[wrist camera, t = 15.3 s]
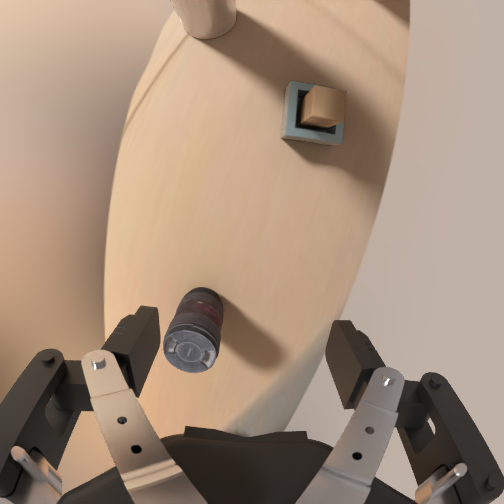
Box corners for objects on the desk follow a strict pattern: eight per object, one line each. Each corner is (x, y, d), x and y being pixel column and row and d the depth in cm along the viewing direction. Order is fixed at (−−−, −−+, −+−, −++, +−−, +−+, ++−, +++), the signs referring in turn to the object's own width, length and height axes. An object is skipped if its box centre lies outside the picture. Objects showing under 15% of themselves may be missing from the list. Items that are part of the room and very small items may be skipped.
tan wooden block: (296, 126, 40) (312, 115, 29) (298, 102, 38) (315, 85, 28) (321, 130, 40) (344, 121, 29) (323, 107, 39) (346, 92, 28)
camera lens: (229, 288, 49) (223, 338, 35) (220, 325, 51) (212, 379, 37) (185, 277, 48) (163, 323, 34) (179, 315, 51) (159, 366, 36)
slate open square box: (280, 138, 41) (285, 134, 36) (285, 89, 39) (290, 80, 33) (331, 145, 42) (342, 144, 36) (335, 98, 39) (346, 91, 34)
